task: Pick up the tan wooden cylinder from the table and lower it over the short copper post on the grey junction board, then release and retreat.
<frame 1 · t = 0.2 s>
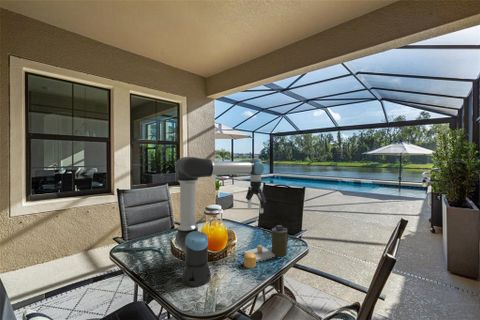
hand: (255, 211, 155), 27 cm above the table, fingers open, 13 cm apart
tan wooden cylinder: (249, 265, 133), on the table
canister: (279, 255, 148), on the table, touching junction board
junction board: (259, 255, 146), on the table
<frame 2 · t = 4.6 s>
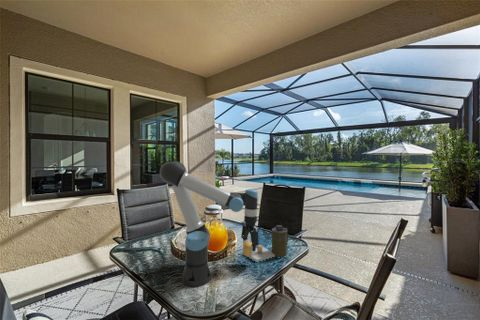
hand: (248, 253, 133), 7 cm above the table, fingers closed on tan wooden cylinder, 7 cm apart
tan wooden cylinder: (249, 253, 133), point 7 cm above the table, touching gripper
everything else where it was.
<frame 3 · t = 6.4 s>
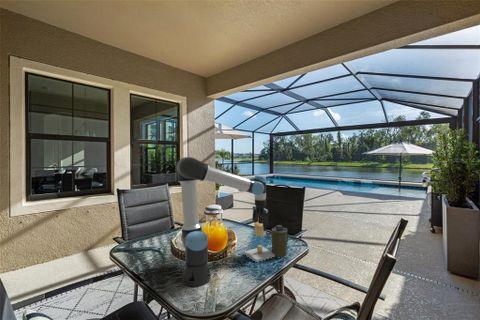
hand: (260, 233, 146), 15 cm above the table, fingers closed on tan wooden cylinder, 7 cm apart
tan wooden cylinder: (260, 233, 146), point 14 cm above the table, touching gripper
everything else where it was.
when the fingers open (3 cm above the table, at t = 8.5 s): tan wooden cylinder stays where it is, resting on junction board.
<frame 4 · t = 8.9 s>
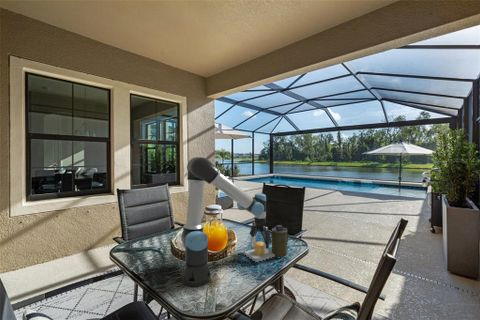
hand: (259, 249, 146), 4 cm above the table, fingers open, 13 cm apart
tan wooden cylinder: (259, 252, 146), point 2 cm above the table, touching junction board
everything else where it was.
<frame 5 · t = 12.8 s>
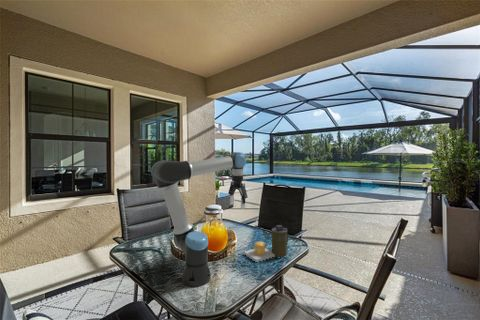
hand: (237, 206, 149), 32 cm above the table, fingers open, 13 cm apart
nothing on the table moved.
at the end: tan wooden cylinder 0.1 cm off-centre on the junction board, point 2.0 cm above the junction board's base; tan wooden cylinder tilted 0°; the gripper is holding nothing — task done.
